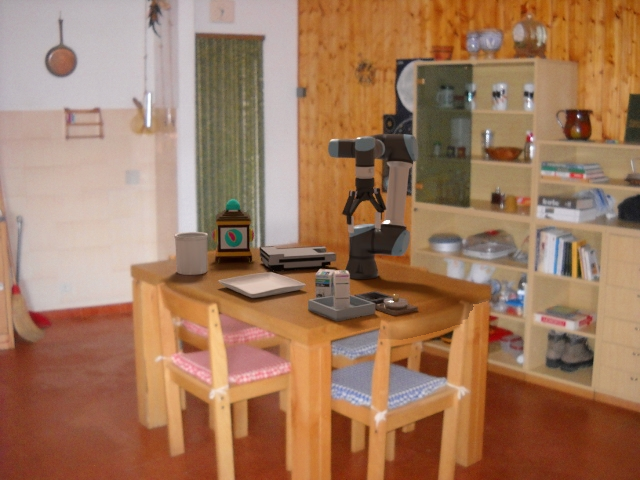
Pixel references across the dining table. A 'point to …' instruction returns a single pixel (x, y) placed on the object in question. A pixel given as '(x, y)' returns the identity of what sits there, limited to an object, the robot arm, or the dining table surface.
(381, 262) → the dining table surface
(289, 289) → the square plate
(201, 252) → the utensil holder
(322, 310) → the tray
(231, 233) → the decorative lantern
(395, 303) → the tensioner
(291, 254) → the game console
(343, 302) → the syrup box
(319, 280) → the light bulb box
